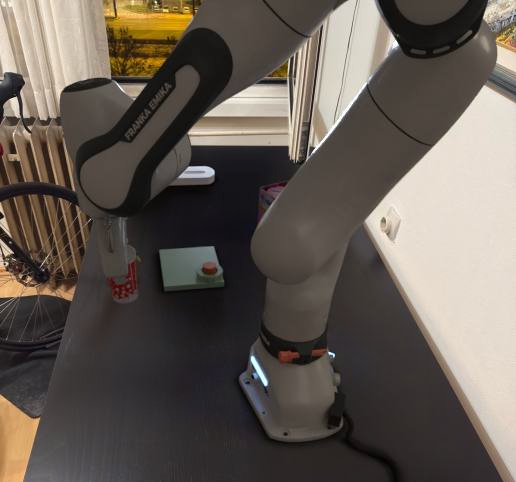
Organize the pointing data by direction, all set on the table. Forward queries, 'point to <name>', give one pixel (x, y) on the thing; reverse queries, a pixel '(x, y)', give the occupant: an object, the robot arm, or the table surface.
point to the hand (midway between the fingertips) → (120, 270)
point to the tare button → (209, 268)
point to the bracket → (195, 176)
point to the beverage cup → (130, 288)
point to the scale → (189, 268)
